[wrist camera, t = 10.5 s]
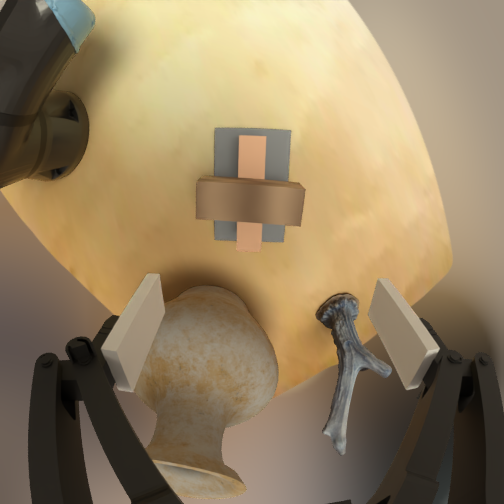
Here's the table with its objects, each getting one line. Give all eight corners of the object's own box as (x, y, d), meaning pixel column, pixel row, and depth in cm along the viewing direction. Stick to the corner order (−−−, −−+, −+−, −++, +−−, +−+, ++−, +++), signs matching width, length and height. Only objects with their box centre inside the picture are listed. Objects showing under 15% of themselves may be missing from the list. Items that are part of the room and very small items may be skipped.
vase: (268, 364, 52) (275, 507, 25) (160, 356, 52) (119, 487, 24) (278, 266, 43) (308, 450, 16) (143, 259, 43) (44, 408, 16)
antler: (343, 284, 45) (400, 405, 22) (368, 308, 47) (424, 419, 24) (294, 327, 48) (315, 453, 26) (321, 346, 50) (350, 461, 28)
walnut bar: (202, 208, 33) (195, 219, 29) (203, 175, 31) (196, 181, 27) (295, 215, 33) (300, 226, 29) (299, 182, 31) (305, 189, 28)
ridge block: (215, 237, 41) (208, 257, 35) (216, 128, 35) (208, 126, 29) (282, 239, 42) (288, 260, 35) (289, 130, 35) (297, 129, 29)
